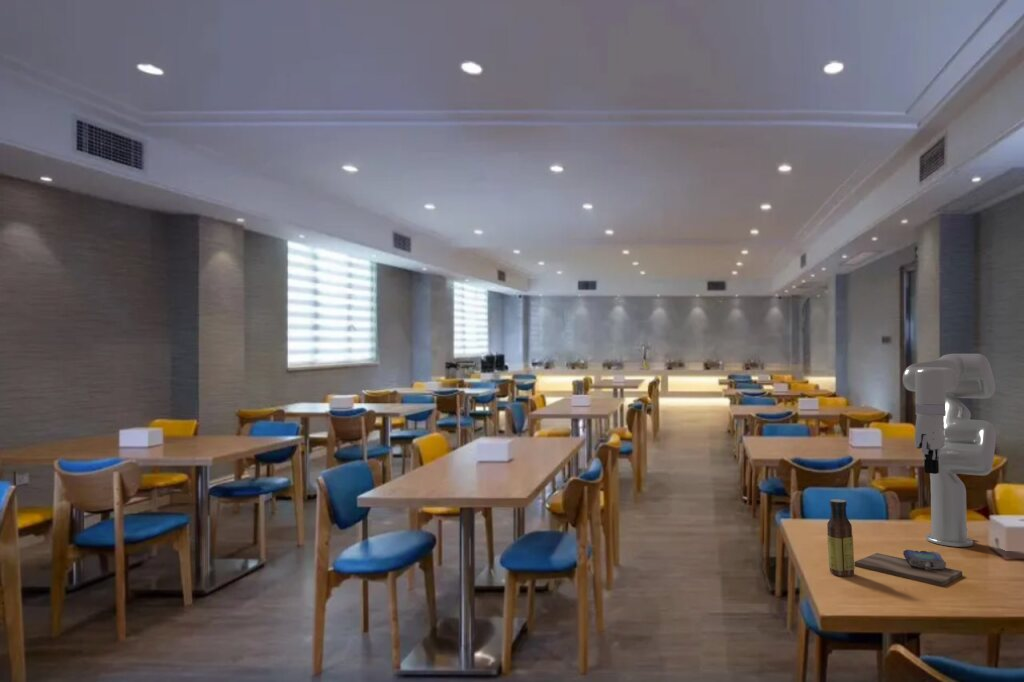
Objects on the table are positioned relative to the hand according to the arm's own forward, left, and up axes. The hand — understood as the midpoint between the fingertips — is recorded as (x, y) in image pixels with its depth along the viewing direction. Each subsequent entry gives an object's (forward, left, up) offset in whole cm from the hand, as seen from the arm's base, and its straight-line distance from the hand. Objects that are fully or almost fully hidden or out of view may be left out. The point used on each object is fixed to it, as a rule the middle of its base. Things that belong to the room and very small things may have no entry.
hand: (931, 472), depth 198 cm
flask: (+9, 0, -22) cm, 24 cm away
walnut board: (+18, 0, -25) cm, 31 cm away
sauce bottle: (+35, -10, -25) cm, 44 cm away
